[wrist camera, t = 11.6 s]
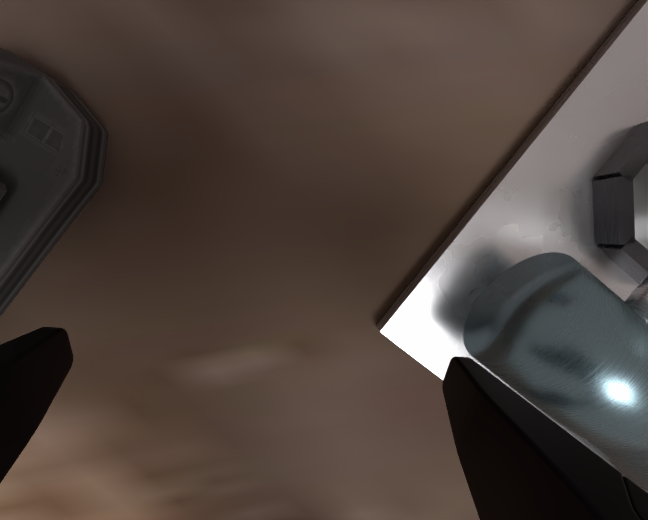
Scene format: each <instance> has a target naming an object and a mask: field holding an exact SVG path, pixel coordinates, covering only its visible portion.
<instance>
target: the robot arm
mask: <svg viewBox="0 0 648 520" xmlns="http://www.w3.org/2000/svg"><path fill="white" fill-rule="evenodd" d="M72 363H73V353H72V349H71V345H70V342H69V338H68V334H67V332H66V330H65V329H63V328H55V327H42V328H39V329H37V330H35V331H32V332H30V333H27V334H25V335H23V336H20V337H18V338H16V339H13V340H11V341H8V342H6V343H4V344H1V345H0V483H1V481H2V480H3V479H4V477H5V476H6V474H7V473H8V471H9V470H10V468H11V467H12V465H13V464H14V462H15V461H16V460H17V458H18V457H19V455H20V454H21V452H22V451H23V449H24V448H25V446H26V445H27V443H28V442H29V440H30V439H31V437H32V436H33V434H34V433H35V431H36V429H37V428H38V426H39V424H40V423H41V421H42V419H43V417H44V416H45V414H46V412H47V410H48V408H49V406H50V405H51V403H52V401H53V399H54V397H55V396H56V394H57V392H58V390H59V388H60V387H61V385H62V383H63V381H64V379H65V377H66V376H67V374H68V372H69V370H70V368H71V366H72ZM442 387H443V394H444V398H445V402H446V407H447V411H448V415H449V420H450V424H451V428H452V433H453V437H454V441H455V445H456V449H457V453H458V456H459V459H460V462H461V465H462V468H463V471H464V474H465V477H466V480H467V483H468V486H469V489H470V492H471V495H472V498H473V501H474V504H475V506H476V509H477V512H478V515H479V518H480V520H648V493H647V492H645V491H644V490H643V489H642V488H640V487H639V486H638V485H636V484H635V483H634V482H632V481H631V480H630V479H629V478H627V477H625V476H622V474H621V473H620V472H619V471H618V470H617V469H615V468H614V467H613V466H611V465H610V464H609V463H607V462H606V461H605V460H604V459H602V458H601V457H600V456H598V455H597V454H596V453H594V452H593V451H592V450H590V449H589V448H588V447H586V446H585V445H584V444H583V443H581V442H580V441H579V440H577V439H576V438H575V437H573V436H572V435H571V434H569V433H568V432H567V431H566V430H564V429H563V428H562V427H560V426H559V425H558V424H556V423H555V422H554V421H552V420H551V419H550V418H549V417H547V416H546V415H545V414H543V413H542V412H541V411H539V410H538V409H537V408H535V407H534V406H533V405H532V404H530V403H529V402H528V401H526V400H525V399H524V398H522V397H521V396H520V395H518V394H517V393H516V392H515V391H513V390H512V389H511V388H509V387H508V386H507V385H505V384H504V383H503V382H501V381H500V380H499V379H498V378H496V377H495V376H494V375H492V374H491V373H490V372H488V371H487V370H486V369H484V368H483V367H482V366H480V365H479V364H478V363H477V362H475V361H474V360H473V359H471V358H469V357H458V356H455V357H453V358H452V359H451V360H450V363H449V366H448V368H447V371H446V374H445V377H444V379H443V386H442Z"/></svg>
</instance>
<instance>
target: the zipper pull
mask: <svg viewBox="0 0 648 520" xmlns="http://www.w3.org/2000/svg"><path fill="white" fill-rule="evenodd" d="M107 138H108V133H107V131H106V129H105V128H104V127H103V126H102V125H101V123H100V122H99V121H98V120H97V119H96V117H95V116H94V115H93V114H92V113H91V112H90V110H89V109H88V108H87V107H86V106H85V104H84V103H83V102H82V101H81V100H80V98H79V97H78V96H77V95H76V94H75V92H73V91H72V90H70V89H69V88H67V87H65V86H64V85H62V84H61V83H59V82H58V81H56V80H54V79H53V78H51V77H50V76H48V75H47V74H45V73H44V72H42V71H40V70H39V69H37V68H36V67H34V66H32V65H30V64H29V63H27V62H25V61H24V60H22V59H20V58H19V57H17V56H16V55H14V54H13V53H11V52H9V51H7V50H4V49H1V48H0V316H1V315H2V313H3V312H4V311H5V310H6V308H7V307H8V306H9V304H10V303H11V302H12V300H13V299H14V298H15V296H16V295H17V294H18V292H19V291H20V290H21V288H22V287H23V286H24V285H25V283H26V282H27V281H28V279H29V278H30V277H31V275H32V274H33V273H34V271H35V270H36V269H37V267H38V266H39V265H40V263H41V262H42V261H43V260H44V258H45V257H46V256H47V254H48V253H49V252H50V250H51V249H52V248H53V246H54V245H55V244H56V242H57V241H58V240H59V238H60V237H61V236H62V235H63V233H64V232H65V231H66V229H67V228H68V227H69V225H70V224H71V223H72V222H73V220H74V219H75V218H76V217H77V215H78V214H79V213H80V212H81V210H82V209H83V208H84V207H85V205H86V204H87V203H88V202H89V200H90V199H91V198H92V197H93V195H94V194H95V193H96V192H97V190H98V189H99V188H100V186H101V185H102V179H103V171H104V163H105V154H106V146H107Z"/></svg>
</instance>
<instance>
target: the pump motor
mask: <svg viewBox="0 0 648 520" xmlns="http://www.w3.org/2000/svg"><path fill="white" fill-rule="evenodd" d="M647 163H648V0H638V1H637V2H636V3H635V5H634V6H633V7H632V8H631V10H630V11H629V12H628V13H627V14H626V16H625V17H624V18H623V19H622V21H621V22H620V23H619V24H618V26H617V27H616V28H615V29H614V31H613V32H612V33H611V34H610V36H609V37H608V38H607V39H606V41H605V42H604V43H603V44H602V46H601V47H600V48H599V49H598V50H597V52H596V53H595V54H594V55H593V57H592V58H591V59H590V60H589V62H588V63H587V64H586V65H585V67H584V68H583V69H582V70H581V72H580V73H579V74H578V75H577V77H576V78H575V79H574V80H573V81H572V83H571V84H570V85H569V86H568V88H567V89H566V90H565V91H564V93H563V94H562V95H561V96H560V98H559V99H558V100H557V101H556V103H555V104H554V105H553V106H552V108H551V109H550V110H549V111H548V113H547V114H546V115H545V116H544V117H543V119H542V120H541V121H540V122H539V124H538V125H537V126H536V127H535V129H534V130H533V131H532V132H531V134H530V135H529V136H528V137H527V139H526V140H525V141H524V142H523V144H522V145H521V146H520V147H519V149H518V150H517V151H516V152H515V153H514V155H513V156H512V157H511V158H510V160H509V161H508V162H507V163H506V165H505V166H504V167H503V168H502V170H501V171H500V172H499V173H498V175H497V176H496V177H495V178H494V180H493V181H492V182H491V183H490V184H489V186H488V187H487V188H486V189H485V191H484V192H483V193H482V194H481V196H480V197H479V198H478V199H477V201H476V202H475V203H474V204H473V206H472V207H471V208H470V209H469V211H468V212H467V213H466V214H465V216H464V217H463V218H462V219H461V220H460V222H459V223H458V224H457V225H456V227H455V228H454V229H453V230H452V232H451V233H450V234H449V235H448V237H447V238H446V239H445V240H444V242H443V243H442V244H441V245H440V247H439V248H438V249H437V250H436V252H435V253H434V254H433V255H432V256H431V258H430V259H429V260H428V261H427V263H426V264H425V265H424V266H423V268H422V269H421V270H420V271H419V273H418V274H417V275H416V276H415V278H414V279H413V280H412V281H411V283H410V284H409V285H408V286H407V287H406V289H405V290H404V291H403V292H402V294H401V295H400V296H399V297H398V299H397V300H396V301H395V302H394V304H393V305H392V306H391V307H390V309H389V310H388V311H387V312H386V314H385V315H384V316H383V317H382V319H381V320H380V321H379V322H378V323H377V325H376V327H377V328H378V329H379V331H380V332H381V333H382V334H384V335H385V336H386V337H387V338H389V339H390V340H391V341H393V342H394V343H395V344H397V345H398V346H399V347H400V348H402V349H403V350H404V351H406V352H407V353H408V354H409V355H411V356H412V357H413V358H415V359H416V360H417V361H419V362H420V363H421V364H422V365H424V366H425V367H426V368H428V369H429V370H430V371H431V372H433V373H434V374H435V375H437V376H438V377H439V378H441V379H442V380H443V379H444V377H445V374H446V371H447V368H448V366H449V363H450V360H451V359H452V358H453V357H455V356H458V357H469V358H471V359H473V360H474V361H475V362H477V363H478V364H479V365H480V366H482V367H483V368H484V369H486V370H487V371H488V372H490V373H491V374H492V375H494V376H495V377H496V378H498V379H499V380H500V381H501V382H503V383H504V384H505V385H507V386H508V387H509V388H511V389H512V390H513V391H515V392H516V393H517V394H518V395H520V396H521V397H522V398H524V399H525V400H526V401H528V402H529V403H530V404H532V405H533V406H534V407H535V408H537V409H538V410H539V411H541V412H542V413H543V414H545V415H546V416H547V417H549V418H550V419H551V420H552V421H554V422H555V423H556V424H558V425H559V426H560V427H562V428H563V429H564V430H566V431H567V432H568V433H569V434H571V435H572V436H573V437H575V438H576V439H577V440H579V441H580V442H581V443H583V444H584V445H585V446H586V447H588V448H589V449H590V450H592V451H593V452H594V453H596V454H597V455H598V456H600V457H601V458H602V459H604V460H605V461H606V462H607V463H609V464H610V465H611V466H613V467H614V468H615V469H617V470H618V471H619V472H620V473H621V474H622V475H623V476H625V477H627V478H629V479H630V480H631V481H632V482H634V483H635V484H636V485H638V486H639V487H640V488H642V489H644V490H646V491H648V248H646V247H645V246H643V245H642V244H640V243H639V242H638V241H637V240H636V239H635V221H634V192H633V179H634V178H635V176H636V175H637V174H638V173H639V172H640V170H641V169H642V168H643V167H644V166H645V164H647Z"/></svg>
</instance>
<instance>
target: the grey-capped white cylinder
mask: <svg viewBox="0 0 648 520" xmlns="http://www.w3.org/2000/svg"><path fill="white" fill-rule="evenodd" d="M633 192H634V221H635V239H636V240H637V241H638V242H639V243H640V244H642V245H643V246H645V247H646V248H648V163H647V164H645V166H644V167H643V168H642V169H641V170H640V172H639V173H638V174H637V175H636V176H635V178H634V179H633Z"/></svg>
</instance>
